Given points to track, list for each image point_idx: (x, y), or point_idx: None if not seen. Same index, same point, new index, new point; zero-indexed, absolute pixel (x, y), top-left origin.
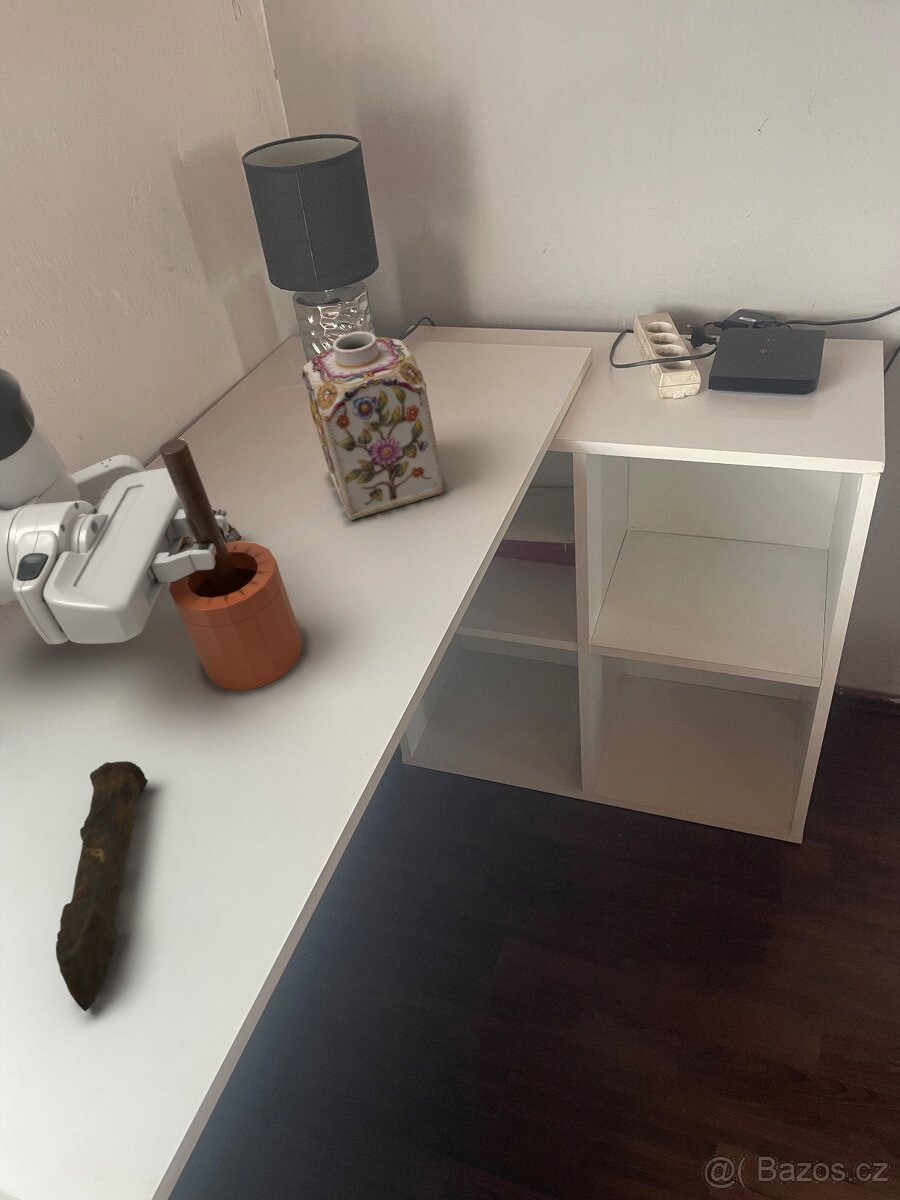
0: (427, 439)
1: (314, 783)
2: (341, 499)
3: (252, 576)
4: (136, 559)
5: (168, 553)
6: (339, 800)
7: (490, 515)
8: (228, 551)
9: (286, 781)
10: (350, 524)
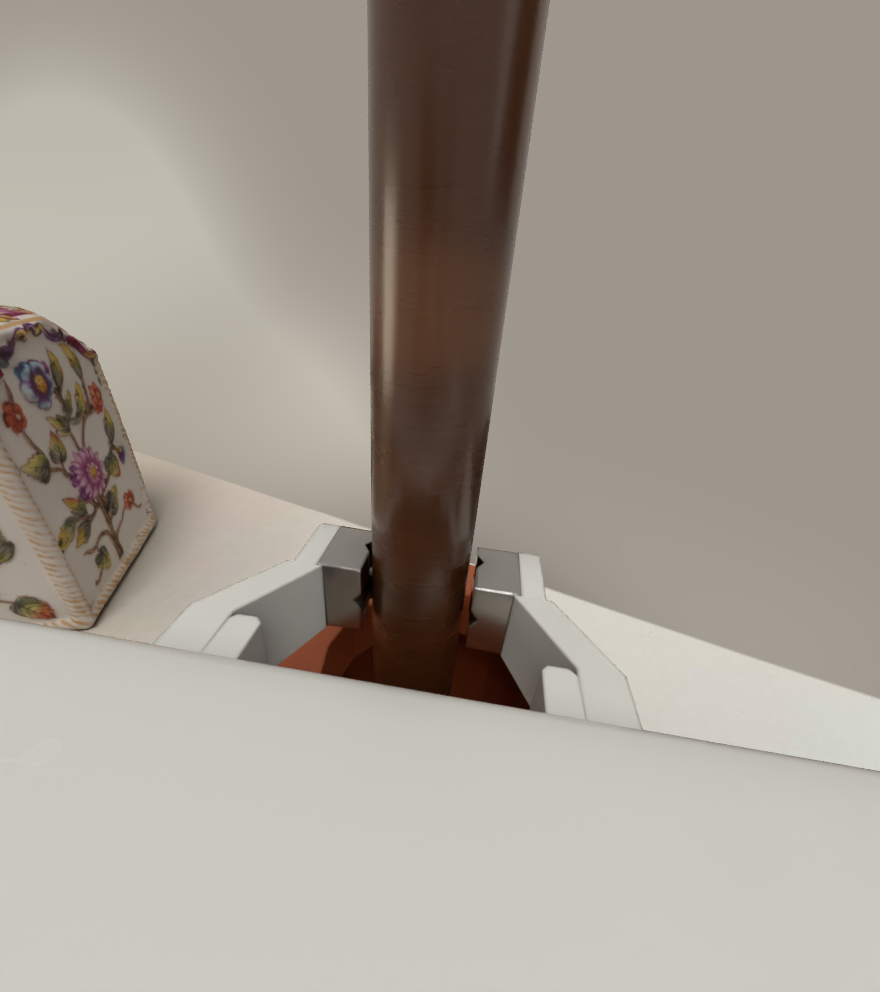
0: (122, 442)
1: (725, 695)
2: None
3: None
4: (733, 804)
5: (551, 668)
6: (737, 664)
7: (250, 498)
8: (318, 658)
9: (741, 738)
10: (99, 631)
